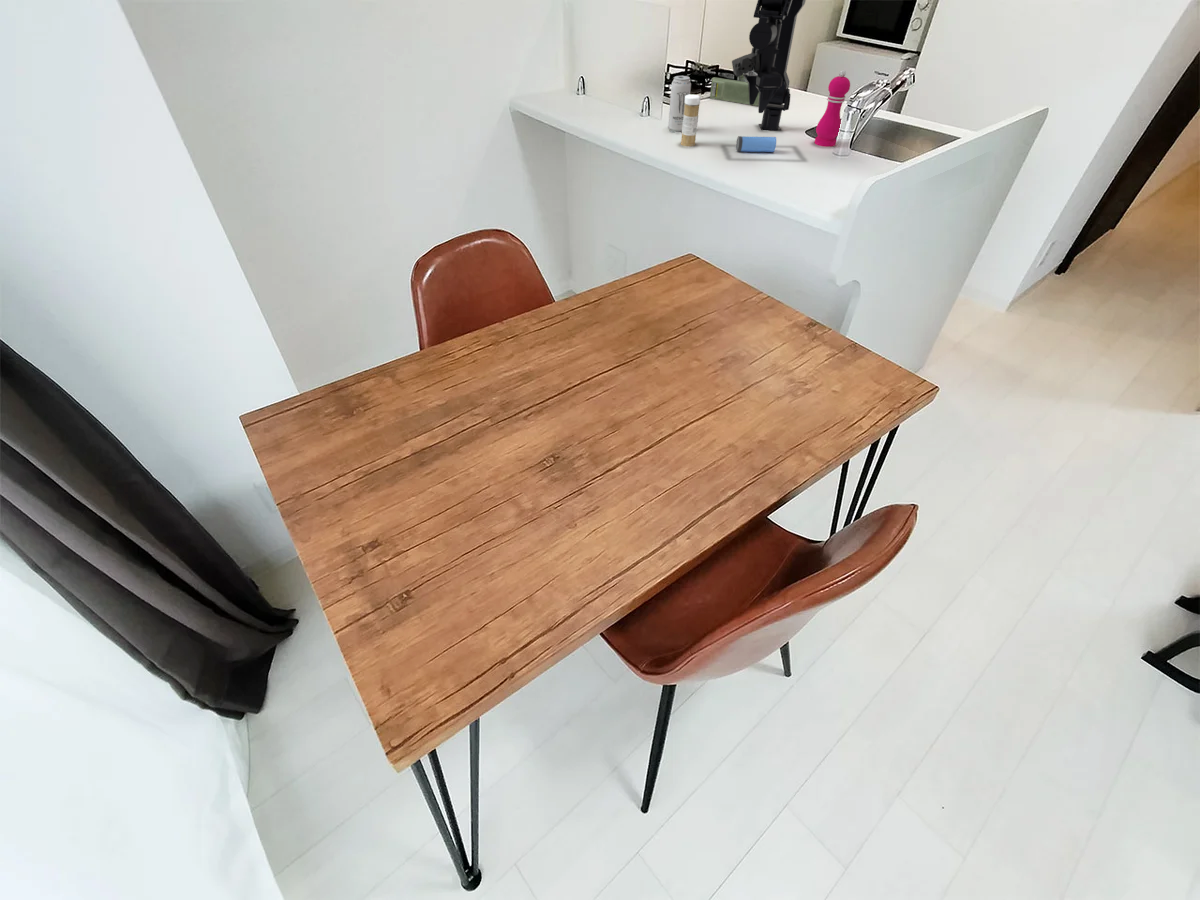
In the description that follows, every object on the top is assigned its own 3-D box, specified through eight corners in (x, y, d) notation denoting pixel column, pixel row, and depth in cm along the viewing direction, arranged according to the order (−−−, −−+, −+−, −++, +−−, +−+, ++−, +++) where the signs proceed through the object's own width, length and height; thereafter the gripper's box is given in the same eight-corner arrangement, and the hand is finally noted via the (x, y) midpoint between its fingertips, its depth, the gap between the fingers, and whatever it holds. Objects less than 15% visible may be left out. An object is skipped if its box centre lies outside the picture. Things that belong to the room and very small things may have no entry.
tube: (735, 149, 181) (737, 134, 179) (771, 149, 181) (774, 135, 179) (737, 153, 178) (739, 138, 176) (774, 154, 178) (777, 139, 176)
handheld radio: (712, 96, 228) (775, 107, 218) (708, 98, 226) (772, 109, 216) (714, 76, 223) (779, 86, 213) (710, 78, 221) (775, 88, 211)
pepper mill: (834, 141, 189) (853, 68, 176) (838, 149, 184) (858, 73, 170) (810, 140, 190) (828, 66, 176) (814, 147, 184) (832, 72, 171)
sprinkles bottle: (688, 142, 187) (693, 93, 178) (698, 146, 184) (704, 96, 175) (677, 144, 185) (681, 95, 176) (686, 148, 182) (692, 98, 173)
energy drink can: (672, 134, 192) (677, 80, 182) (664, 128, 197) (668, 76, 186) (689, 132, 194) (695, 79, 184) (680, 127, 198) (686, 74, 188)
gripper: (729, 37, 167) (720, 100, 177) (747, 49, 153) (736, 117, 164) (768, 37, 168) (757, 100, 178) (789, 50, 154) (776, 117, 165)
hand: (755, 108), depth 171 cm, fingers open, 9 cm apart
